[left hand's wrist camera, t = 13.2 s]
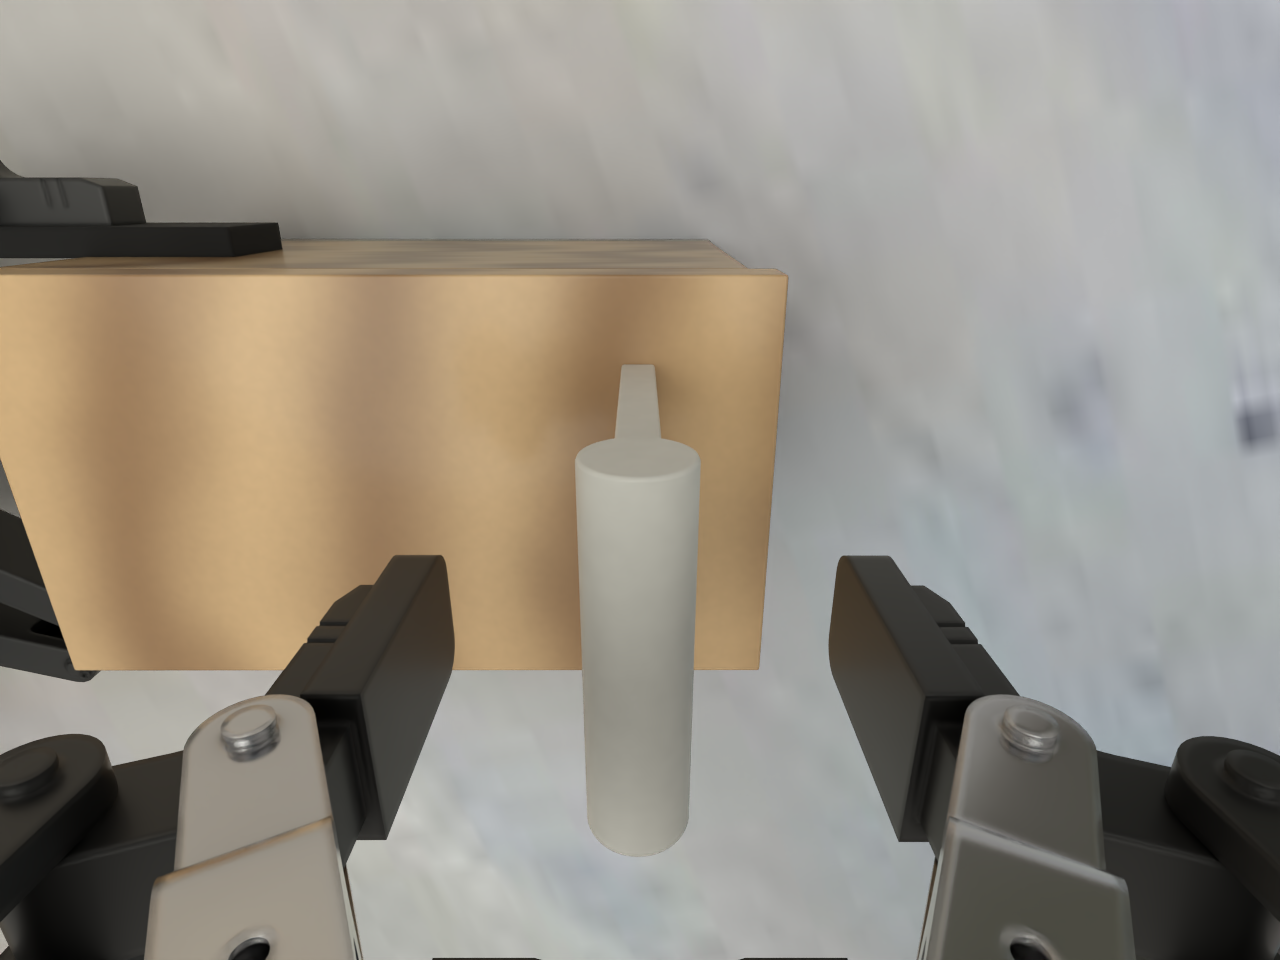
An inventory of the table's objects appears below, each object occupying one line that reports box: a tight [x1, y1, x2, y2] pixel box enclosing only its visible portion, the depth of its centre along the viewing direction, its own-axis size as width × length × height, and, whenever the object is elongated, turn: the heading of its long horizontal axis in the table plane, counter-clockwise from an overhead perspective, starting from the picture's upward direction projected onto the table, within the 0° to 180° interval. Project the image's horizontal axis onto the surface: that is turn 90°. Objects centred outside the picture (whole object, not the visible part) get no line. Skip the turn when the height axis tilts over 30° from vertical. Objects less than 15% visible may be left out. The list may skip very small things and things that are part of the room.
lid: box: [0, 269, 788, 857], centre depth 14 cm, size 17×10×8 cm, turn 90°
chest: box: [0, 239, 748, 269], centre depth 22 cm, size 17×10×10 cm, turn 90°
